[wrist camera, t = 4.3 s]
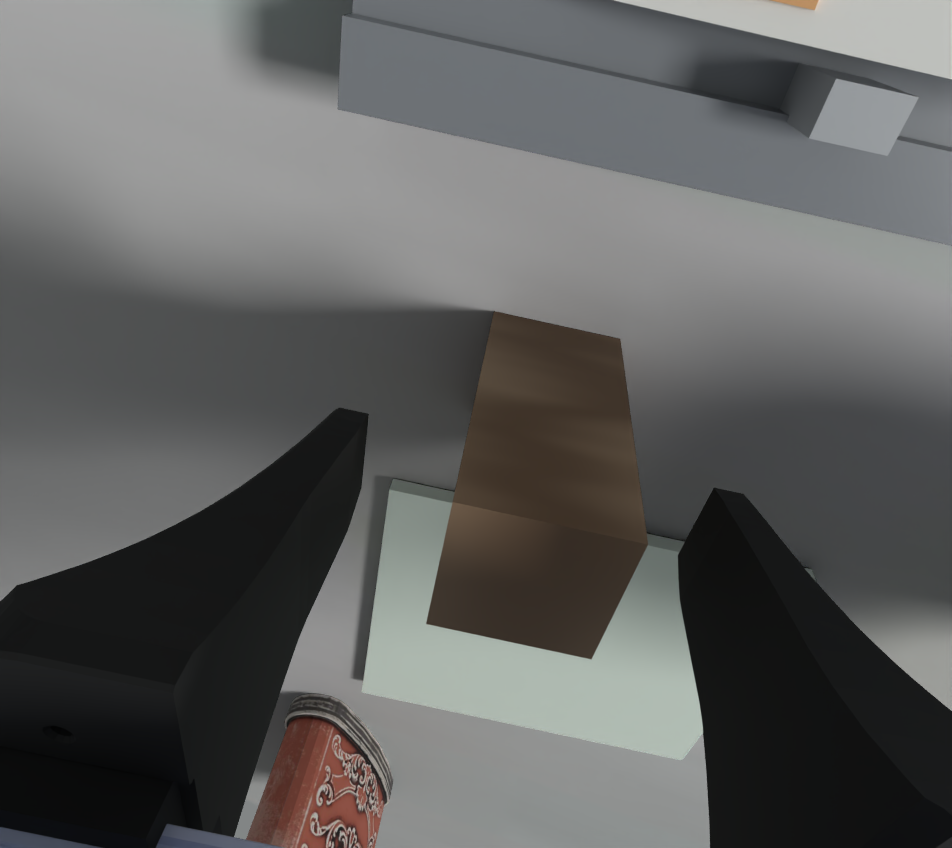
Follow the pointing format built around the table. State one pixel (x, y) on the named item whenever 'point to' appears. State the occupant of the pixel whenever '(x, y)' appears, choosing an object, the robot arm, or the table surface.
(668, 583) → the mat
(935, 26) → the rocker switch
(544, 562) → the wooden brick
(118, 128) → the table surface
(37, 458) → the table surface
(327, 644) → the table surface
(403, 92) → the switch panel
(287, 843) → the lighter
